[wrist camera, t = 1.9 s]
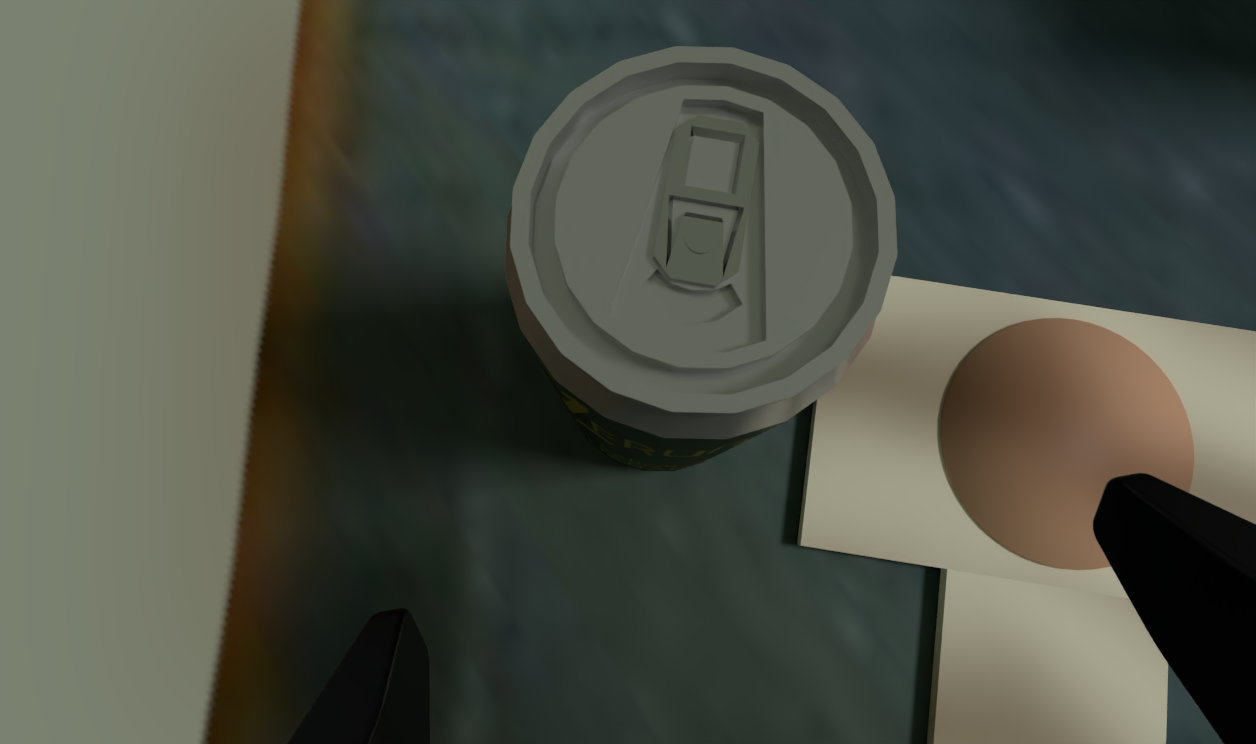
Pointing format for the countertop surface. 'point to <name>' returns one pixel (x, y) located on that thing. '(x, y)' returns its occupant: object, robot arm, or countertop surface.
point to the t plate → (1026, 491)
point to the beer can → (697, 251)
